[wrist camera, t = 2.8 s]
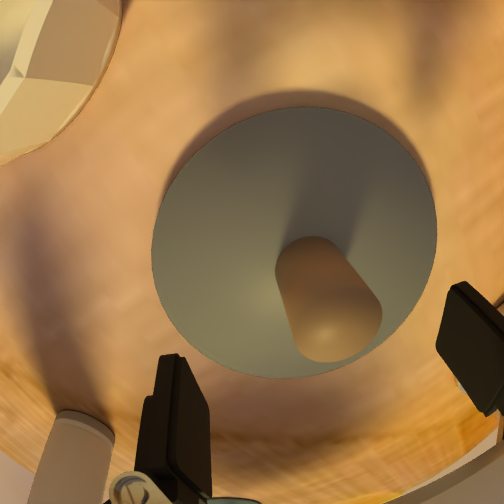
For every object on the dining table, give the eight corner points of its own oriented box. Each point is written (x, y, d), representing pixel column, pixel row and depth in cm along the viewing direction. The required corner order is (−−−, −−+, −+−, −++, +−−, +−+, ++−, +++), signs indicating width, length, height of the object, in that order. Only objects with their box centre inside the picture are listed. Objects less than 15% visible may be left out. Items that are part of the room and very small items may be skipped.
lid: (414, 94, 13) (493, 92, 8) (420, 327, 20) (462, 383, 14) (116, 155, 14) (54, 177, 8) (207, 385, 20) (205, 459, 15)
